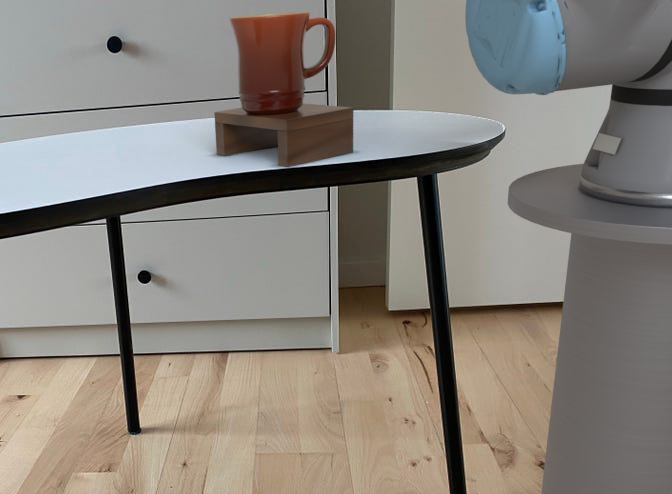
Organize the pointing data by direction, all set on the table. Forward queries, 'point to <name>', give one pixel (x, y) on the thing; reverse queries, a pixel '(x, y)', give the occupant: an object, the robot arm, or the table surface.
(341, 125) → the shelf
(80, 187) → the table surface
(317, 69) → the mug
